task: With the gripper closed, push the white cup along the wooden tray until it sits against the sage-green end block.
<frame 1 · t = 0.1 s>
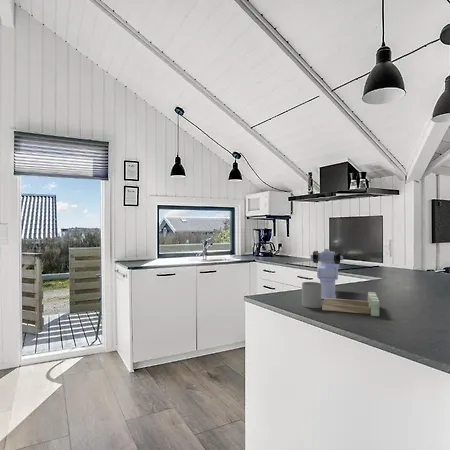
hand: (325, 257, 157), 22 cm above the countertop, tool horizontal, fingers open, 7 cm apart
wooden tray: (347, 308, 153), on the countertop
cup: (311, 306, 157), on the countertop
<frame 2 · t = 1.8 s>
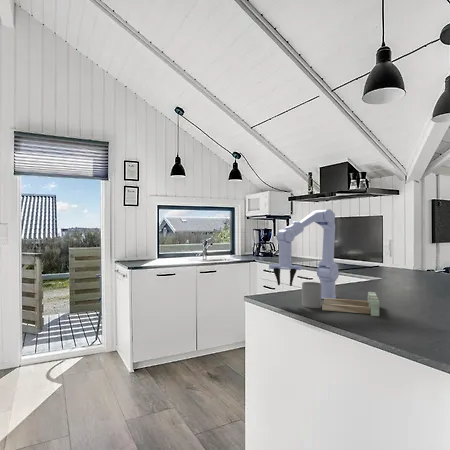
hand: (284, 285, 161), 8 cm above the countertop, tool pointing down, fingers open, 5 cm apart
nothing on the countertop moved.
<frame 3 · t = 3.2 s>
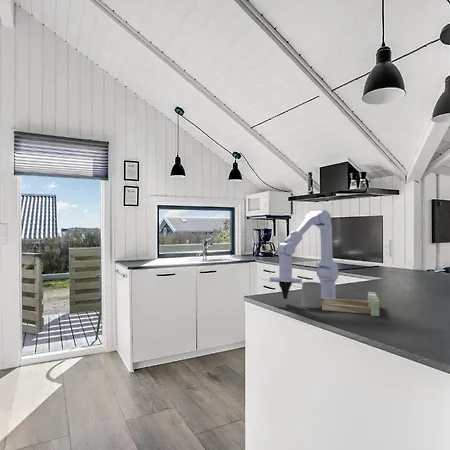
hand: (285, 298, 161), 2 cm above the countertop, tool pointing down, fingers closed
nothing on the countertop moved.
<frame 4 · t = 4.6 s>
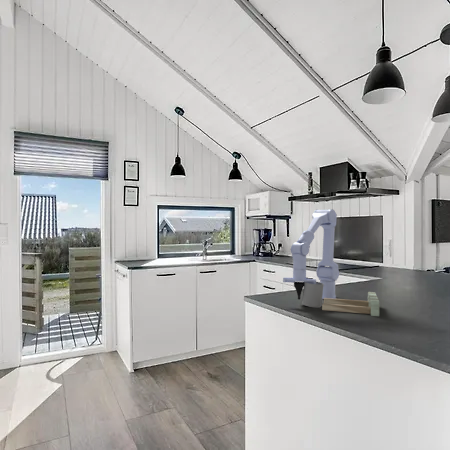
hand: (299, 299, 159), 3 cm above the countertop, tool pointing down, fingers closed, pressing on cup
cup: (311, 305, 157), on the countertop, touching gripper
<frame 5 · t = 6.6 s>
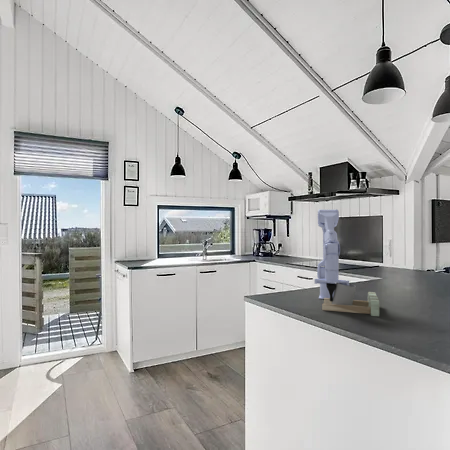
hand: (331, 300, 154), 3 cm above the countertop, tool pointing down, fingers closed, pressing on cup
cup: (341, 306, 153), point 1 cm above the countertop, touching gripper
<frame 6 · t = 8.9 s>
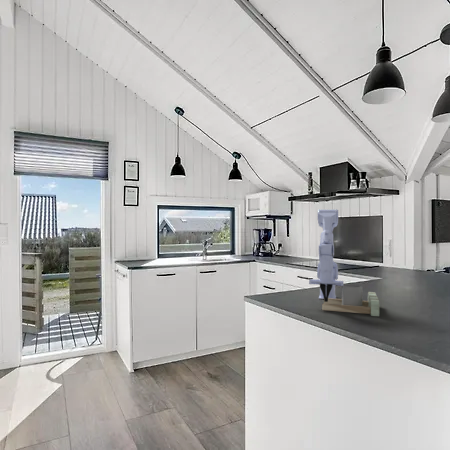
hand: (326, 301, 155), 2 cm above the countertop, tool pointing down, fingers closed
cup: (352, 309, 152), resting in wooden tray
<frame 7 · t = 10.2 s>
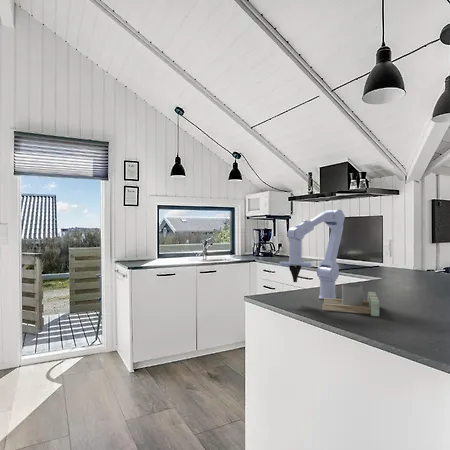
hand: (295, 281, 165), 9 cm above the countertop, tool pointing down, fingers closed
nothing on the countertop moved.
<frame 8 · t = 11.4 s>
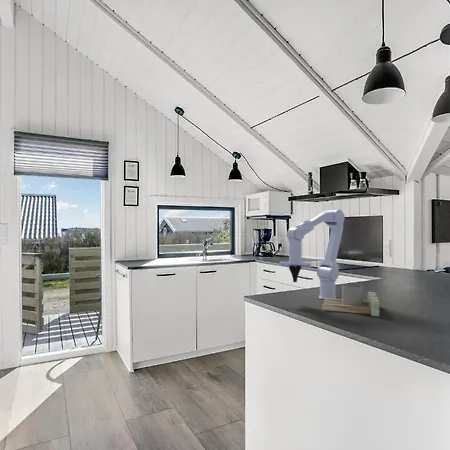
hand: (295, 282, 165), 9 cm above the countertop, tool pointing down, fingers closed
nothing on the countertop moved.
at the end: cup 0.9 cm from the target spot, resting in wooden tray; cup tilted 0° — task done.
